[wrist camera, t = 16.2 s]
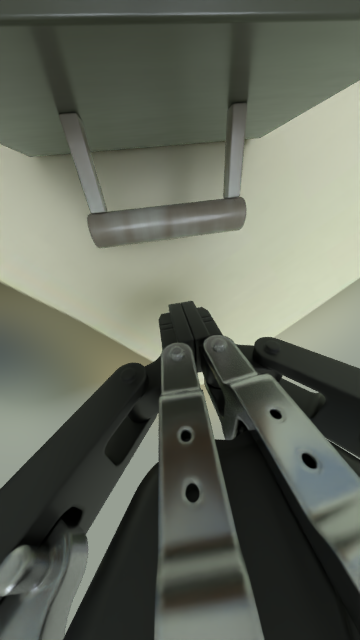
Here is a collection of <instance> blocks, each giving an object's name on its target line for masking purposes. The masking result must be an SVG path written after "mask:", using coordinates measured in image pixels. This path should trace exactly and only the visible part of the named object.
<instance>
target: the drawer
mask: <svg viewBox="0 0 360 640" xmlns="http://www.w3.org/2000/svg"><path fill="white" fill-rule="evenodd" d="M359 80H360V0H0V144H2V145H4V146H6V147H9V148H11V149H13V150H16V151H18V152H20V153H23V154H25V155H27V156H30V157H33V156H46V155H58V154H70V153H71V155H72V158H73V161H74V164H75V167H76V170H77V173H78V176H79V179H80V182H81V185H82V188H83V191H84V194H85V197H86V200H87V203H88V206H89V209H90V212H91V213H92V214H89V215H88V216H87V222H88V228H89V231H90V234H91V237H92V239H93V241H94V243H95V245H96V246H97V247H98V248H108V247H115V246H123V245H130V244H138V243H145V242H153V241H160V240H168V239H175V238H183V237H190V236H198V235H205V234H213V233H221V232H228V231H236V230H240V229H241V228H242V227H243V225H244V222H245V219H246V203H245V200H244V199H243V198H242V197H239V196H240V187H241V176H242V164H243V153H244V141H245V139H253V138H261V137H262V136H264V135H266V134H268V133H269V132H271V131H273V130H274V129H276V128H278V127H280V126H281V125H283V124H285V123H287V122H288V121H290V120H292V119H293V118H295V117H297V116H299V115H300V114H302V113H304V112H306V111H307V110H309V109H311V108H312V107H314V106H316V105H318V104H319V103H321V102H323V101H324V100H326V99H328V98H330V97H331V96H333V95H335V94H337V93H338V92H340V91H342V90H343V89H345V88H347V87H349V86H350V85H352V84H354V83H356V82H357V81H359ZM217 141H226V146H225V170H224V193H223V197H224V198H225V199H216V200H207V201H198V202H190V203H181V204H172V205H163V206H155V207H146V208H137V209H128V210H120V211H111V212H107V208H106V204H105V201H104V197H103V194H102V190H101V186H100V183H99V179H98V176H97V172H96V169H95V165H94V162H93V158H92V155H91V152H94V151H107V150H119V149H131V148H143V147H155V146H168V145H180V144H192V143H204V142H217Z"/></svg>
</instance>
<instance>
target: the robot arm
mask: <svg viewBox="0 0 360 640" xmlns="http://www.w3.org/2000/svg"><path fill="white" fill-rule="evenodd" d="M169 312H170V313H165V314H161V316H160V318H159V326H160V333H161V341H162V353H161V355H160V357H159V358H158V359H157V360H156V361H154V362H153V363H151V364H149V365H147V366H145V367H144V366H143V365H141V364H139V363H128V364H126V365H123V366H121V367H120V368H118V369H117V370H116V371H115V372H114V373H113V374H112V375H111V377H109V378H108V380H107V381H105V383H104V384H103V385H102V386H101V387H100V388H99V389H98V390H97V391H96V392H95V393H94V394H93V395H92V396H91V397H90V398H89V399H88V400H87V401H86V402H85V403H84V404H83V405H82V406H81V407H80V408H79V409H78V410H77V411H76V412H75V413H74V414H73V415H72V416H71V417H70V418H69V419H68V420H67V421H66V422H65V423H64V424H63V426H61V427H60V429H59V430H58V431H57V432H56V433H55V434H54V435H53V436H52V437H51V438H50V439H49V440H48V441H47V442H46V443H45V444H44V445H43V446H42V447H41V448H40V449H39V450H38V451H37V452H36V453H35V454H34V455H33V456H32V457H31V458H30V459H29V460H28V461H27V462H26V463H25V464H24V465H23V466H22V467H21V468H20V470H19V471H17V473H16V474H15V475H14V476H13V477H12V478H11V479H10V480H9V481H8V482H7V483H6V484H5V485H4V486H3V487H2V488H1V489H0V640H360V460H359V459H358V458H356V457H355V456H353V455H351V454H350V453H348V452H347V451H349V452H351V453H353V454H354V455H356V456H358V457H359V458H360V369H359V368H357V367H354V366H351V365H348V364H346V363H343V362H340V361H337V360H334V359H332V358H329V357H326V356H323V355H321V354H318V353H315V352H312V351H310V350H307V349H304V348H301V347H298V346H296V345H293V344H290V343H287V342H285V341H282V340H279V339H276V338H272V337H263V338H260V339H258V340H257V341H256V342H255V345H254V346H250V345H238V344H235V343H234V342H233V341H232V340H231V339H230V338H228V337H226V336H223V335H222V333H221V331H220V330H219V328H218V326H217V325H216V323H215V321H214V320H213V318H212V317H211V315H210V313H209V312H208V310H206V309H204V308H203V307H200V308H196V306H195V304H194V302H193V301H188V302H182V303H181V304H180V303H176V304H170V305H169ZM198 372H203V375H204V384H205V387H206V389H207V391H208V394H209V395H210V398H211V401H212V403H213V405H214V408H215V409H216V412H217V414H218V416H219V419H220V422H221V425H222V430H223V434H224V437H225V440H216V439H214V435H213V431H212V426H211V422H210V418H209V414H208V409H207V405H206V401H205V397H204V393H203V390H201V388H200V383H199V379H198V374H197V373H198ZM282 375H284V376H286V377H288V378H290V379H292V380H294V381H296V382H299V383H301V384H303V385H305V386H307V387H309V388H311V389H313V390H316V391H318V392H319V393H312V392H309V391H307V390H305V389H303V388H301V387H299V386H297V385H295V384H293V383H291V382H289V381H287V380H284V379H282ZM158 413H159V462H158V463H157V464H156V465H154V466H153V468H152V469H151V470H150V471H149V472H148V473H147V475H146V476H145V477H144V479H143V480H142V482H141V483H140V485H139V487H138V488H137V490H136V492H135V494H134V496H133V498H132V500H131V502H130V504H129V506H128V508H127V510H126V512H125V514H124V517H123V518H122V521H121V522H120V525H119V527H118V529H117V531H116V533H115V535H114V537H113V539H112V541H111V543H110V545H109V547H108V549H107V551H106V553H105V555H104V557H103V559H102V561H101V563H100V565H99V567H98V570H97V571H96V573H95V576H94V578H93V580H92V582H91V584H90V586H89V588H88V590H87V592H86V594H85V596H84V598H83V600H82V602H81V604H80V606H79V608H78V610H77V612H76V614H75V616H74V618H73V620H72V622H71V624H70V627H69V628H68V631H67V633H66V635H65V628H66V622H67V618H68V614H69V610H70V607H71V604H72V601H73V598H74V596H75V594H76V592H77V589H78V587H79V585H80V583H81V580H82V578H83V575H84V572H85V568H86V564H87V558H88V541H87V537H86V533H87V531H88V530H89V528H90V526H91V525H92V523H93V521H94V520H95V518H96V516H97V515H98V513H99V511H100V510H101V508H102V506H103V505H104V503H105V501H106V500H107V498H108V496H109V495H110V493H111V491H112V489H113V488H114V486H115V485H116V483H117V482H118V480H119V478H120V476H121V475H122V473H123V472H124V470H125V468H126V466H127V465H128V463H129V462H130V460H131V458H132V457H133V455H134V453H135V452H136V450H137V448H138V447H139V445H140V443H141V442H142V440H143V438H144V437H145V435H146V433H147V432H148V430H149V428H150V427H151V425H152V423H153V422H154V420H155V418H156V416H157V414H158ZM326 438H327V439H329V440H330V441H332V442H334V443H335V444H337V445H339V446H341V447H342V448H344V449H346V450H347V451H345V450H343V449H342V448H340V447H339V446H337V445H335V444H334V443H332V442H330V441H329V440H327V439H326ZM64 636H65V637H64Z"/></svg>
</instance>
